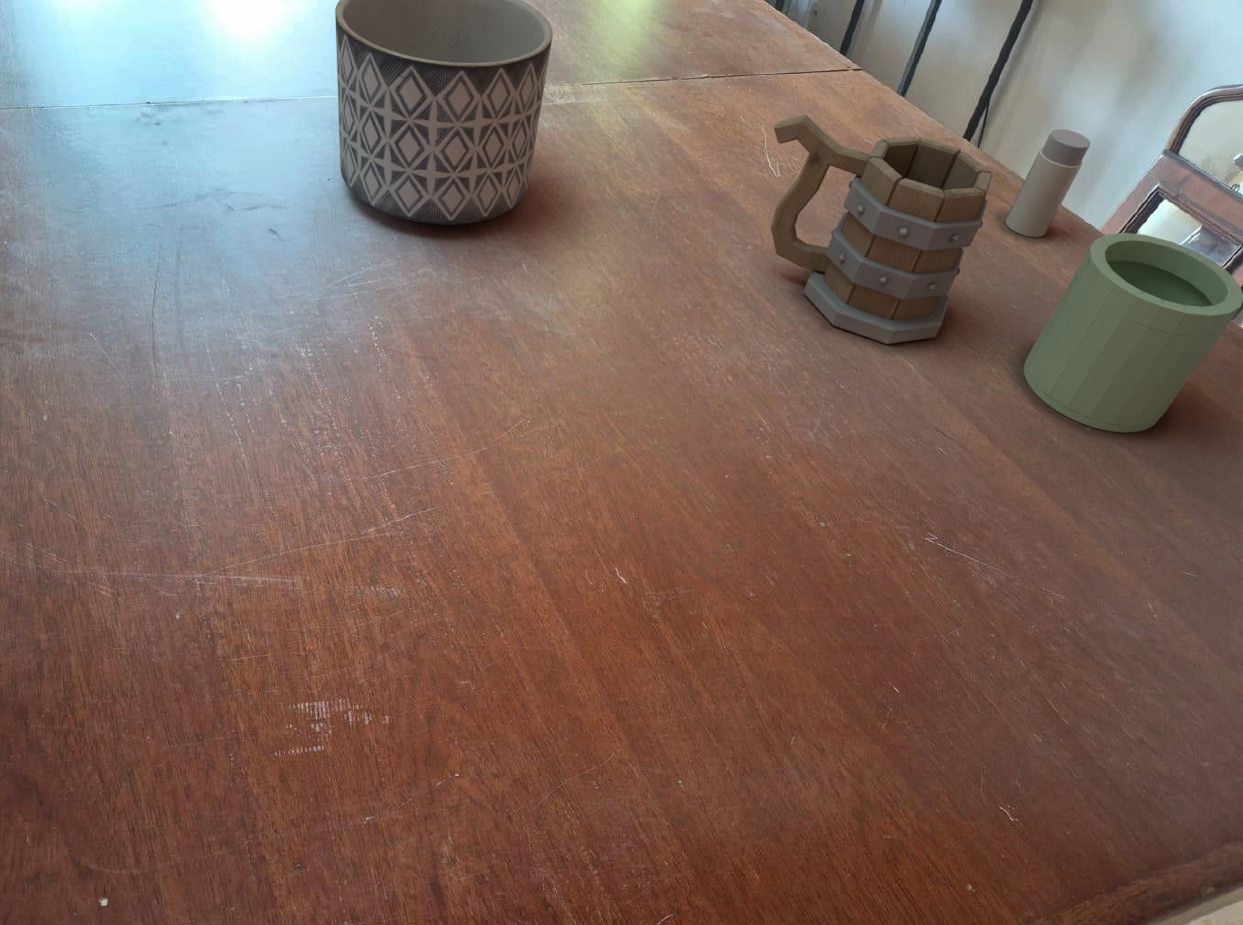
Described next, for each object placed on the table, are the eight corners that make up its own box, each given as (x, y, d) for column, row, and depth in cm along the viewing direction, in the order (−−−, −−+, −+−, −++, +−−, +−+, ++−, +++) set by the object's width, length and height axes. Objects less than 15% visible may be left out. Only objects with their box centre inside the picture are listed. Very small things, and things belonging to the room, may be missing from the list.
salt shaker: (1037, 218, 117) (1083, 130, 109) (1051, 239, 114) (1099, 150, 106) (999, 214, 116) (1042, 125, 109) (1012, 234, 113) (1057, 145, 106)
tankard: (948, 293, 103) (1019, 146, 92) (928, 359, 95) (1002, 206, 84) (754, 230, 107) (799, 82, 97) (717, 287, 99) (763, 133, 88)
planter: (500, 261, 98) (521, 83, 86) (305, 212, 100) (300, 32, 88) (549, 171, 111) (573, 5, 99) (376, 129, 113) (380, -37, 101)
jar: (1127, 355, 99) (1202, 240, 91) (1183, 438, 91) (1271, 321, 82) (1005, 342, 98) (1069, 226, 90) (1050, 426, 90) (1125, 306, 81)
